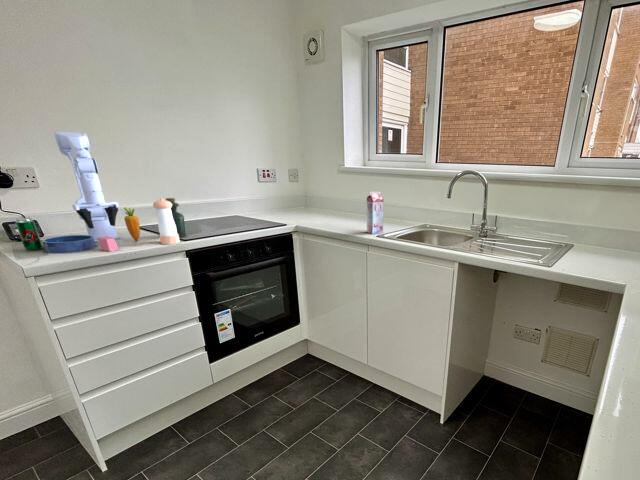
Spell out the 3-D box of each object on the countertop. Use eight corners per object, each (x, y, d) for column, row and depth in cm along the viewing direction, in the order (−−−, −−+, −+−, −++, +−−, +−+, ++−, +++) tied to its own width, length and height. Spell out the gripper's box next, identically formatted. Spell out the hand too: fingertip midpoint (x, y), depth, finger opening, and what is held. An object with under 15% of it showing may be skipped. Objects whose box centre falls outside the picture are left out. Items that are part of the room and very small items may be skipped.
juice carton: (383, 232, 196) (383, 192, 188) (372, 233, 192) (372, 192, 184) (376, 230, 201) (377, 191, 193) (366, 231, 197) (366, 191, 189)
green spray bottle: (169, 239, 164) (161, 199, 157) (166, 236, 170) (158, 197, 163) (189, 237, 169) (182, 198, 162) (185, 234, 174) (178, 197, 168)
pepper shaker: (177, 244, 155) (168, 199, 148) (158, 244, 153) (148, 199, 146) (181, 240, 161) (173, 197, 155) (163, 241, 159) (154, 197, 153)
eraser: (109, 248, 144) (105, 236, 142) (117, 250, 142) (114, 237, 140) (100, 249, 142) (97, 237, 140) (109, 251, 139) (106, 239, 138)
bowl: (82, 242, 151) (80, 233, 150) (104, 247, 146) (101, 237, 144) (37, 249, 138) (34, 239, 137) (58, 254, 133) (55, 244, 131)
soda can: (46, 248, 141) (36, 218, 136) (33, 251, 136) (22, 220, 131) (35, 247, 141) (24, 217, 137) (21, 250, 136) (10, 219, 132)
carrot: (146, 240, 159) (138, 207, 153) (135, 242, 154) (126, 208, 149) (138, 239, 160) (130, 206, 155) (127, 241, 156) (118, 207, 150)
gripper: (76, 193, 127) (86, 230, 132) (119, 191, 139) (128, 225, 144) (65, 192, 130) (76, 228, 135) (108, 190, 142) (117, 223, 147)
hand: (102, 226), depth 140 cm, fingers open, 7 cm apart
